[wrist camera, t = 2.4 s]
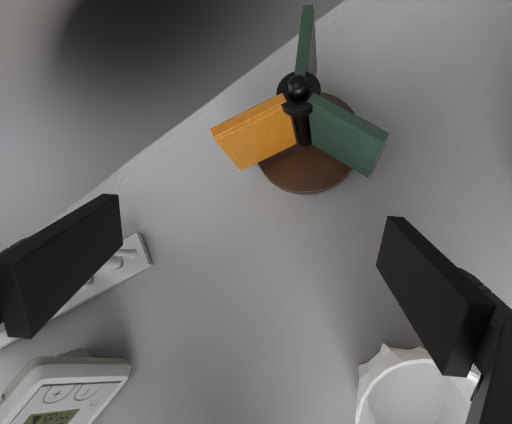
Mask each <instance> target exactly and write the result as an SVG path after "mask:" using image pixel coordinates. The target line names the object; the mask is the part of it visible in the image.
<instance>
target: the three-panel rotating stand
mask: <svg viewBox="0 0 512 424" xmlns="http://www.w3.org/2000/svg"><path fill="white" fill-rule="evenodd" d="M316 72H317V61H316V41H315V20H314V10H313V5H308V6H307V5H306V6H303V8H302V16H301V25H300V33H299V42H298V50H297V58H296V67H295V72H292V73H290V74H288V75H287V76H285V77H284V78H283V79H282V80H281V82H280V83H279V85H278V88H277V96H275V97H273V98H271V99H269V100H267V101H265V102H263V103H261V104H259V105H257V106H255V107H253V108H251V109H249V110H247V111H245V112H243V113H241V114H239V115H237V116H235V117H233V118H231V119H229V120H227V121H225V122H223V123H221V124H219V125H217V126H215V127H214V128H212V129H210V131H211V133H212V136H213V138H214V139H215V141H216V142H217V143H218V144H219V145H220V147H221V148H222V149H223V150H224V151H225V153H226V154H227V155H228V156H229V157H230V159H231V160H232V161H233V162H234V163H235V165H236V166H237V167H238V168H239V169H240V171H241V170H243V169H245V168H247V167H249V166H251V165H253V164H256V163H258V162H260V161H262V160H264V159H266V158H268V157H270V156H272V155H274V154H276V153H278V152H281V151H283V150H285V149H287V148H289V147H291V146H293V145H295V144H297V143H296V138H295V134H294V130H293V125H292V121H291V117H293V121H294V126H295V130H296V135H297V139H298V143H299V144H300V145H302V146H309V145H311V144H312V145H314V146H316V147H317V148H319V149H321V150H322V151H324V152H326V153H327V154H329V155H331V156H332V157H334V158H336V159H337V160H339V161H341V162H342V163H344V164H346V165H347V166H349V167H350V168H352V169H354V170H355V171H357V172H359V173H360V174H362V175H364V176H365V177H367V178H368V177H369V175H370V174H371V173H372V171H373V169H374V167H375V165H376V162H377V160H378V158H379V156H380V153H381V151H382V149H383V147H384V144H385V142H386V140H387V137H388V135H389V133H387V132H385V131H384V130H382V129H380V128H378V127H376V126H374V125H373V124H371V123H369V122H367V121H365V120H363V119H362V118H360V117H358V116H356V115H354V114H352V113H351V112H349V111H347V110H345V109H343V108H341V107H340V106H338V105H336V104H334V103H332V102H330V101H328V100H327V99H325V98H323V97H321V87H320V83H319V81H318V79H317V78H316ZM290 116H291V117H290Z"/></svg>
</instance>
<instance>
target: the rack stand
mask: <svg viewBox="0 0 512 424" xmlns="http://www.w3.org/2000/svg"><path fill="white" fill-rule="evenodd" d="M321 97H323V98H325V99H327V100H328V101H330V102H332V103H334V104H336V105H338V106H340V107H341V108H343V109H345V110H347V111H349V112H351V113H352V114H354V112H353V111H352V109H351V108H350V107H349V106H348V105H347V104H345V103H344V102H343V101H341V100H340V99H338V98H336V97H334V96H332V95H329V94H326V93H321ZM354 115H355V114H354ZM290 117H291V116H290ZM291 121H292V125H293V130H294V134H295V138H296V143H297V144H295V145H293V146H291V147H289V148H287V149H285V150H283V151H281V152H278V153H276V154H274V155H272V156H270V157H268V158H266V159H264V160H262V161H260V162H258V165H259V167H260V169H261V170H262V172H263V173H264V175H265V176H266V177H267V178H268V179H269V180H270V182H272V183H273V184H274V185H276V186H277V187H279V188H281V189H283V190H285V191H287V192H291V193H295V194H316V193H320V192H323V191H326V190H329V189H331V188H333V187H334V186H336V185H338V184H339V183H340V182H342V181H343V180H344V179H345V178H346V177H347V176H348V175H349V174H350V172H351V171H352V170H353V169H352V168H350V167H349V166H347V165H346V164H344V163H342V162H341V161H339V160H337V159H336V158H334V157H332V156H331V155H329V154H327V153H326V152H324V151H322V150H321V149H319V148H317V147H316V146H314V145H312V144H311V145H309V146H302V145H300V144H299V143H298V139H297V135H296V130H295V126H294V121H293V117H291Z"/></svg>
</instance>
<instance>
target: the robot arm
mask: <svg viewBox="0 0 512 424" xmlns="http://www.w3.org/2000/svg"><path fill="white" fill-rule="evenodd" d="M122 246H123V239H122V228H121V218H120V208H119V198H118V195H113V194H101V195H100V196H98V197H96V198H95V199H93V200H91V201H90V202H88V203H86V204H84V205H83V206H81V207H79V208H78V209H76V210H74V211H73V212H71V213H69V214H68V215H66V216H64V217H63V218H61V219H59V220H57V221H56V222H54V223H52V224H51V225H49V226H47V227H46V228H44V229H42V230H41V231H39V232H37V233H36V234H34V235H32V236H30V237H28V238H25V239H22V240H20V241H18V242H17V243H15V244H13V245H11V246H10V248H6V249H5V250H3V251H1V253H0V324H2V323H3V322H4V326H5V330H6V333H7V337H13V338H24V339H32V337H33V336H34V335H35V334H36V333H37V332H38V331H39V330H40V329H41V328H42V327H43V326H44V325H45V324H46V323H47V322H48V321H49V320H50V319H51V318H52V317H53V316H54V315H55V314H56V313H57V312H58V311H59V310H60V309H61V308H62V307H63V306H64V305H65V304H66V303H67V302H68V301H69V300H70V299H71V298H72V297H73V296H74V295H75V294H76V293H77V292H78V291H79V290H80V289H81V288H82V287H83V286H84V284H85V283H86V282H87V281H88V280H89V279H90V278H91V277H92V276H93V275H94V274H95V273H96V272H97V271H98V270H99V269H100V268H101V267H102V266H103V265H104V264H105V263H106V262H107V261H108V260H109V259H110V258H111V257H112V256H113V255H114V254H115V253H116V252H117V251H118V250H119V249H120V248H121V247H122ZM376 267H377V269H378V270H379V272H380V274H381V275H382V277H383V278H384V280H385V282H386V283H387V285H388V287H389V288H390V290H391V292H392V293H393V295H394V297H395V298H396V300H397V302H398V303H399V305H400V307H401V308H402V310H403V312H404V313H405V315H406V317H407V318H408V320H409V322H410V323H411V325H412V326H413V328H414V330H415V331H416V333H417V335H418V336H419V338H420V340H421V341H422V343H423V345H424V346H425V348H426V350H427V351H428V353H429V355H430V356H431V358H432V360H433V361H434V363H435V365H436V366H437V368H438V370H439V371H440V373H441V375H442V376H453V377H464V378H467V376H468V374H469V371H470V369H471V367H472V364H473V363H474V364H475V365H476V367H477V368H478V369H479V371H480V372H481V376H480V378H479V380H478V383H477V385H476V387H475V389H474V392H473V394H472V396H471V398H470V401H471V402H472V403H471V406H470V409H469V413H468V416H467V419H466V423H465V424H512V309H511V308H509V307H508V306H507V305H506V304H505V303H504V302H503V301H502V300H501V299H499V298H498V297H497V296H496V295H495V294H494V293H491V292H492V291H491V290H489V289H488V288H487V287H486V286H484V284H483V283H482V282H481V281H479V280H478V279H477V278H476V277H475V276H474V275H472V274H470V273H468V272H467V271H465V270H463V269H461V268H457V267H456V266H455V265H454V264H453V263H452V262H451V261H450V260H449V259H448V258H446V257H445V256H444V255H443V254H442V253H441V252H440V251H439V250H438V249H437V248H436V247H435V246H434V245H433V244H432V243H430V242H429V241H428V240H427V239H426V238H425V237H424V236H423V235H422V234H421V233H420V232H419V231H418V230H417V229H416V228H414V227H413V226H412V225H411V224H410V223H409V222H408V221H407V220H406V219H405V218H404V217H394V216H387V220H386V225H385V229H384V233H383V237H382V242H381V246H380V250H379V254H378V259H377V263H376Z"/></svg>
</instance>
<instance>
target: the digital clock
mask: <svg viewBox="0 0 512 424" xmlns="http://www.w3.org/2000/svg"><path fill="white" fill-rule="evenodd" d="M131 368H132V366H131V364H130V363H129V362H128V361H127V360H124V359H119V358H93V357H92V355H91V354H90V353H89V351H88V350H87V349H86V348H81V349H77V350H74V351H70V352H67V353H64V354H60V355H58V356H56V357H38V358H35V359H33V360H32V361H30V362H29V363H28V364H27V365H26V366H25V368H24V369H23V370H22V371H21V372H20V373H19V374H18V376H17V377H16V378H15V379H14V380H13V381H12V383H11V384H10V385H9V386H8V387H7V388H6V390H5V391H4V392H3V393H2V394H1V395H0V424H91V423H92V422H93V421H94V420H95V419H96V417H97V416H98V415H99V414H100V413H101V411H102V410H103V409H104V408H105V407H106V406H107V404H108V403H109V402H110V401H111V400H112V398H113V397H114V396H115V395H116V394H117V392H118V391H119V390H120V389H121V388H122V386H123V385H124V384H125V383H126V381H127V380H128V378H129V375H130V372H131Z"/></svg>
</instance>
